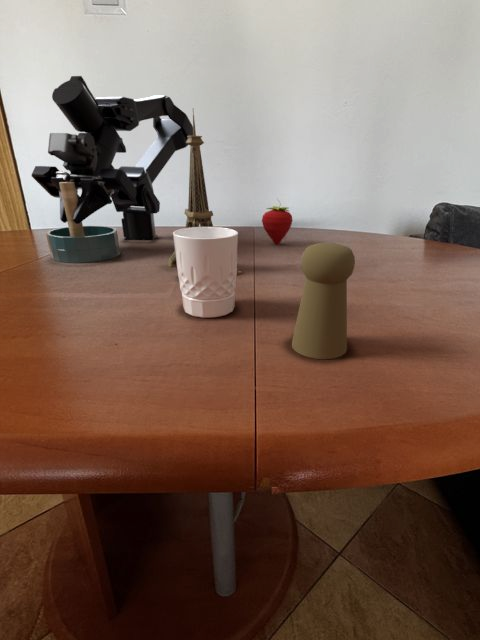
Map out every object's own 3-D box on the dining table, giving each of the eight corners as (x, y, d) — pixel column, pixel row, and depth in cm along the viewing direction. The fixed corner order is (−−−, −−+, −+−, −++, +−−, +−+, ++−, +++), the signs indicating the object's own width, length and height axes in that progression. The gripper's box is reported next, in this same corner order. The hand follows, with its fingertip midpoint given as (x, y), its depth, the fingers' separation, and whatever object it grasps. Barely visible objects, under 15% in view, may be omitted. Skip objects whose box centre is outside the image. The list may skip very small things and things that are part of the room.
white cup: (247, 303, 53) (247, 229, 48) (224, 324, 46) (221, 240, 42) (196, 296, 55) (192, 224, 50) (167, 314, 48) (159, 234, 44)
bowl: (128, 250, 79) (124, 226, 77) (109, 266, 68) (104, 237, 66) (68, 250, 79) (63, 225, 76) (40, 265, 68) (33, 236, 65)
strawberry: (256, 243, 89) (256, 197, 84) (281, 240, 92) (283, 196, 88) (270, 248, 84) (272, 200, 80) (296, 244, 88) (299, 199, 83)
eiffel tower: (241, 273, 66) (241, 103, 54) (184, 281, 61) (169, 97, 49) (216, 260, 74) (210, 109, 62) (163, 266, 69) (147, 104, 57)
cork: (287, 334, 44) (293, 238, 39) (338, 333, 44) (351, 238, 39) (296, 359, 38) (304, 251, 33) (354, 358, 39) (370, 251, 34)
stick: (97, 253, 74) (84, 181, 68) (89, 259, 70) (74, 183, 64) (74, 253, 74) (59, 181, 68) (65, 259, 70) (47, 183, 64)
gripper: (25, 115, 67) (-11, 187, 62) (117, 115, 62) (85, 192, 58) (67, 164, 77) (38, 228, 73) (148, 166, 73) (123, 235, 68)
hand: (69, 221), depth 68 cm, fingers closed on stick, 2 cm apart
